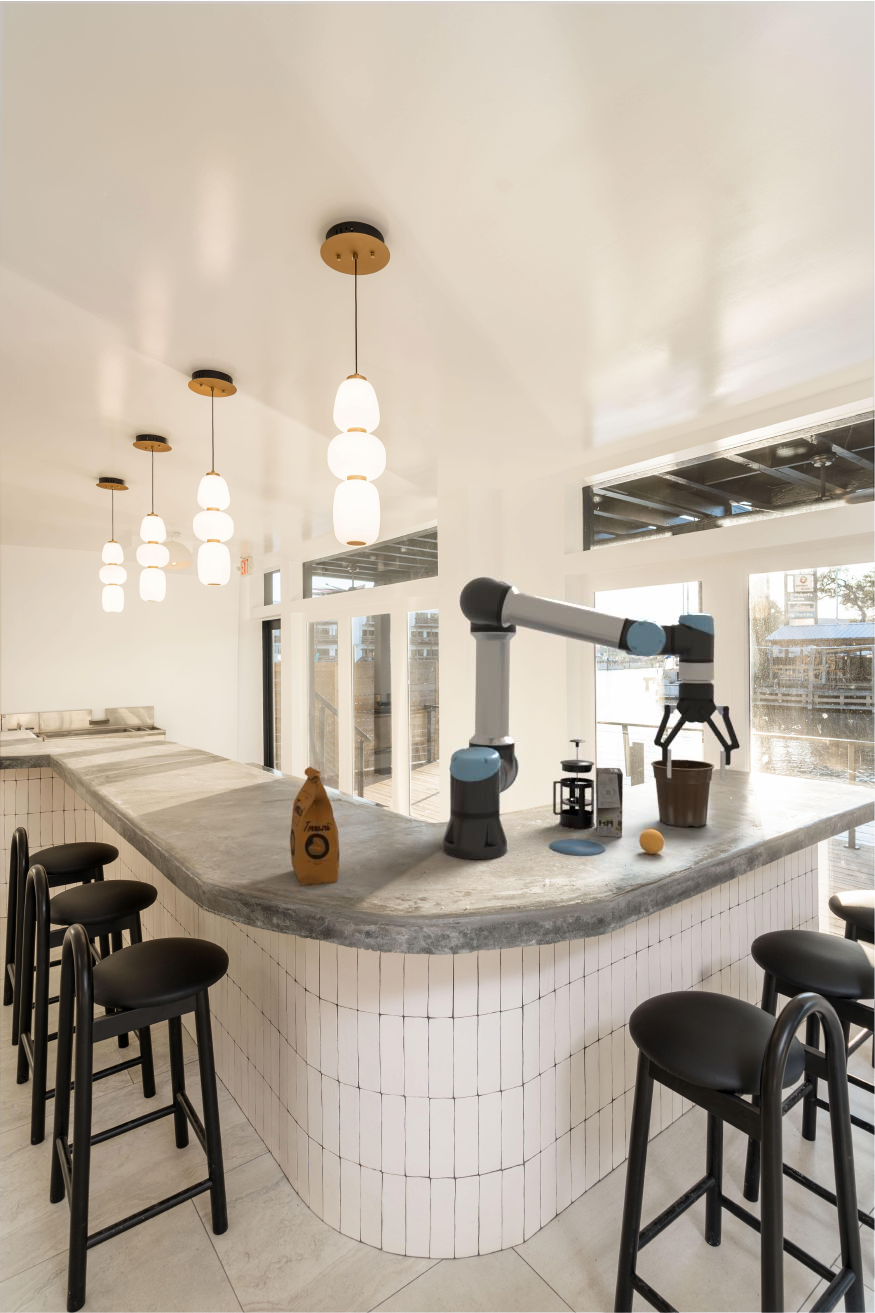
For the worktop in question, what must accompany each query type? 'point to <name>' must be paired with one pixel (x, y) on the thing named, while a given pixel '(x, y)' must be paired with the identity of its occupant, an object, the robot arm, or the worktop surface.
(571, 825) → the french press
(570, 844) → the disc
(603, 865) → the worktop surface
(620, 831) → the coffee box
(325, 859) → the coffee package
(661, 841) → the ball
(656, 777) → the plant pot
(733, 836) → the worktop surface
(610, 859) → the worktop surface
